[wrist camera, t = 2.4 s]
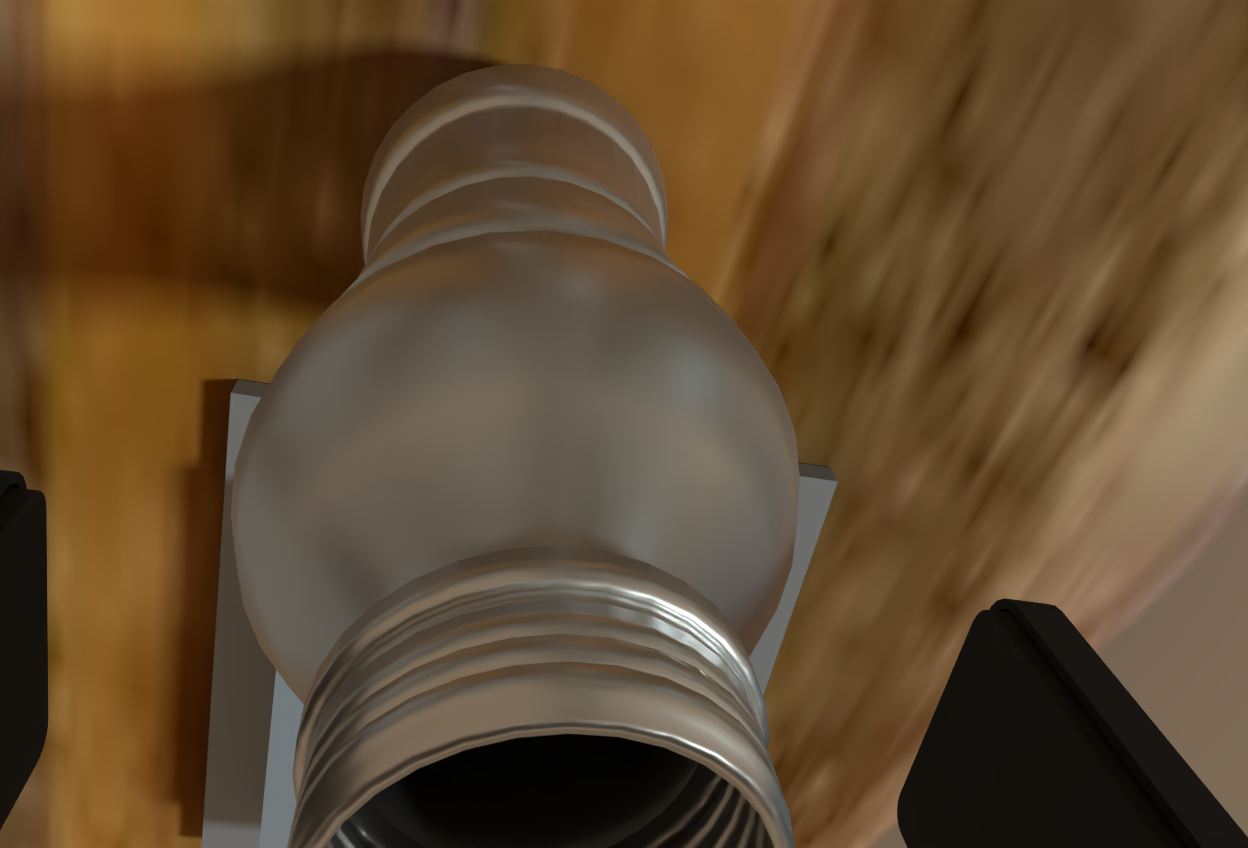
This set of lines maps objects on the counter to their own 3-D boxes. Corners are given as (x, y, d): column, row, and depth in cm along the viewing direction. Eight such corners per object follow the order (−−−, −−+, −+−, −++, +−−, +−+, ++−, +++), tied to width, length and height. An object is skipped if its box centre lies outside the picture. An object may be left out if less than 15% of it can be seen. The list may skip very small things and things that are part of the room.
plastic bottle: (705, 203, 26) (1163, 892, 8) (498, 371, 27) (495, 1272, 9) (532, -18, 23) (639, 273, 5) (313, 181, 24) (-183, 935, 7)
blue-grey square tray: (237, 379, 26) (205, 440, 24) (829, 467, 29) (866, 530, 27) (207, 834, 33) (179, 925, 30) (692, 867, 36) (709, 953, 33)
